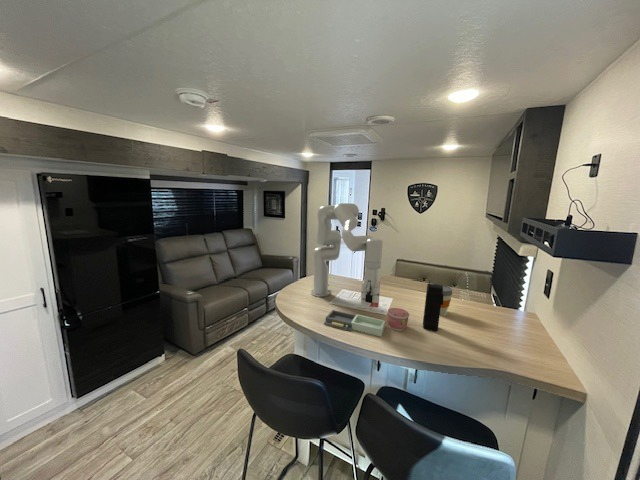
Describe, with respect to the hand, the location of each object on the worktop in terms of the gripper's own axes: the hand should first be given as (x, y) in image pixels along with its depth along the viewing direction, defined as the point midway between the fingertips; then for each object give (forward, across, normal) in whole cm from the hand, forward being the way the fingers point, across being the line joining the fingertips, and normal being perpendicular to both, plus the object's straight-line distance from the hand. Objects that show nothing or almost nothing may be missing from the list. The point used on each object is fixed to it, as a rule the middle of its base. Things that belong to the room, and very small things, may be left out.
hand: (370, 299), depth 124 cm
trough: (+15, 0, 0) cm, 15 cm away
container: (+15, -8, +13) cm, 22 cm away
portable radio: (+15, -15, +29) cm, 36 cm away
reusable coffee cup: (+15, -37, +32) cm, 52 cm away
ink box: (+3, 0, 0) cm, 3 cm away
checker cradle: (+15, 0, -14) cm, 21 cm away
